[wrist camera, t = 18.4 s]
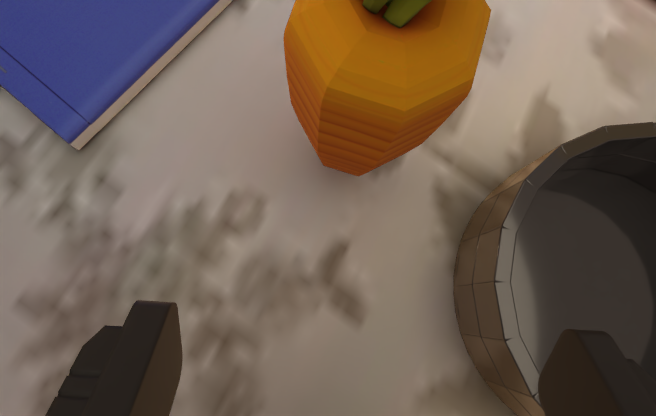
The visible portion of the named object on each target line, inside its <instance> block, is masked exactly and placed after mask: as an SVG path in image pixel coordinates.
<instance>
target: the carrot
mask: <svg viewBox="0 0 656 416" xmlns="http://www.w3.org/2000/svg"><path fill="white" fill-rule="evenodd" d="M490 13H491V9H490V8H489V6H488V5H487V3H486V2H485V0H296V1H295V3H294V6H293V9H292V12H291V14H290V17H289V20H288V23H287V26H286V28H285V33H284V49H285V60H286V71H287V79H288V85H289V92H290V98H291V104H292V106H293V108H294V110H295V113H296V115H297V117H298V120H299V122H300V123H301V125H302V127H303V129H304V131H305V133H306V135H307V136H308V138H309V140H310V142H311V144H312V146H313V147H314V149H315V151H316V153H317V155H318V157H319V158H320V160H321V162H322V164H323V165H324V166H327V167H330V168H333V169H336V170H340V171H343V172H346V173H349V174H352V175H356V176H360V175H363V174H365V173H367V172H369V171H371V170H373V169H375V168H377V167H379V166H381V165H383V164H385V163H387V162H389V161H391V160H393V159H395V158H397V157H399V156H401V155H403V154H405V153H407V152H408V151H410V150H412V149H413V148H415V147H417V146H419V145H420V144H422V143H423V142H424V141H425V140H426V139H427V138H428V137H429V136H430V135H431V134H432V133H433V132H434V131H435V130H436V129H437V128H438V127H439V126H440V125H441V124H442V123H443V122H444V121H445V120H446V119H447V118H448V117H449V116H450V115H451V114H452V112H453V111H454V110H455V109H456V108H457V107H458V106H459V105H460V104H461V103H462V101H463V100H464V99H465V98H466V97H467V95H468V94H469V92H470V90H471V88H472V84H473V80H474V76H475V72H476V68H477V65H478V61H479V57H480V53H481V49H482V45H483V41H484V38H485V34H486V30H487V26H488V22H489V18H490Z"/></svg>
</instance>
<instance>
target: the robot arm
mask: <svg viewBox="0 0 656 416" xmlns="http://www.w3.org/2000/svg"><path fill="white" fill-rule="evenodd" d="M181 369H182V344H181V335H180V325H179V316H178V308H177V304H176V303H174V302H159V301H143V300H137V301H136V302H135V303H134V304H133V306H132V308H131V310H130V312H129V314H128V316H127V318H126V320H125V323H124V325H123V327H122V326H106V325H105V326H104V327H103V328H102V329H101V330H100V331H99V332H98V333H96V334H95V335H94V336H93V337H92V338H91V339H90V340H89V341H88V342H87V343H86V344H84V345H83V347H82V349H81V350H80V352H79V354H78V356H77V358H76V360H75V362H74V363H73V365H72V367H71V369H70V373H69V376H66V378H65V380H64V382H63V384H62V386H61V388H60V389H59V391H58V396H57V397H55V399H54V401H53V402H52V404H51V406H50V408H49V410H48V412H47V414H46V415H45V416H169V414H170V410H171V407H172V404H173V400H174V397H175V394H176V390H177V387H178V384H179V380H180V375H181ZM538 394H539V400H540V403H541V406H542V408H543V411H544V413H545V416H656V380H655V379H654V378H653V377H652V376H650V375H649V374H648V373H647V372H646V371H645V370H644V369H643V368H642V367H641V366H639V365H638V364H637V363H636V362H635V361H634V360H633V359H626V358H625V356H624V355H623V353H622V352H621V350H620V349H619V347H618V346H617V344H616V342H615V341H614V339H613V338H612V337H611V336H610V335H609V334H608V333H606V332H604V331H592V330H577V329H566V330H564V331H563V332H562V333H561V335H560V337H559V339H558V341H557V342H556V344H555V346H554V348H553V350H552V352H551V354H550V356H549V358H548V360H547V362H546V364H545V366H544V368H543V370H542V372H541V374H540V377H539V381H538Z"/></svg>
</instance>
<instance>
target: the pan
mask: <svg viewBox="0 0 656 416" xmlns="http://www.w3.org/2000/svg"><path fill="white" fill-rule="evenodd" d="M454 302H455V311H456V316H457V320H458V324H459V329H460V333H461V335H462V338H463V341H464V343H465V346H466V349H467V351H468V353H469V355H470V357H471V359H472V361H473V363H474V365H475V366H476V368H477V370H478V372H479V373H480V374H481V376H482V377H483V379H484V380H485V382H486V383H487V385H488V386H489V387H490V388H491V389H492V391H493V392H494V393H495V394H496V395H497V396H498V397H499V398H500V400H501V401H502V402H503V403H504V404H506V405H507V406H508V407H509V408H510V409H511V410H512V411H514V412H515V414H516V415H518V416H545V413H544V411H543V408H542V406H541V403H540V400H539V394H538V381H539V377H540V374H541V372H542V370H543V368H544V366H545V364H546V362H547V360H548V358H549V356H550V354H551V352H552V350H553V348H554V346H555V344H556V342H557V341H558V339H559V337H560V335H561V333H562V332H563V331H564V330H566V329H577V330H592V331H604V332H606V333H608V334H609V335H610V336H611V337H612V338H613V339H614V341H615V342H616V344H617V346H618V347H619V349H620V350H621V352H622V353H623V355H624V356H625V358H626V359H633V360H634V361H635V362H636V363H637V364H638V365H639V366H641V367H642V368H643V369H644V370H645V371H646V372H647V373H648V374H649V375H650V376H652V377H653V378H654V379H655V380H656V123H653V122H647V123H634V124H622V125H610V126H604V127H600V128H598V129H596V130H593V131H591V132H589V133H587V134H584V135H582V136H580V137H577V138H575V139H573V140H571V141H568V142H566V143H564V144H562V145H560V146H558V147H556V148H555V149H553V150H551V151H550V152H548V153H547V154H545V155H543V156H542V157H540V158H538V159H537V160H535V161H534V162H532V163H530V164H528V165H527V166H525V167H524V168H522V169H520V170H519V171H517V172H515V173H514V174H512V175H511V176H509V177H508V178H507V179H506V180H505V181H504V182H503V183H502V184H500V185H499V186H498V187H497V188H496V189H495V190H494V191H492V192H491V193H490V194H489V195H488V196H487V197H486V199H485V200H484V201H483V202H482V203H481V204H480V206H479V207H478V208H477V210H476V211H475V213H474V215H473V216H472V218H471V220H470V221H469V223H468V225H467V227H466V230H465V232H464V234H463V237H462V239H461V242H460V246H459V249H458V253H457V257H456V263H455V270H454Z"/></svg>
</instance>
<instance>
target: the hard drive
mask: <svg viewBox="0 0 656 416" xmlns="http://www.w3.org/2000/svg"><path fill="white" fill-rule="evenodd" d="M232 1H233V0H0V85H1V86H2V87H3V88H5V89H6V90H7V91H8V92H9V93H10V94H11V95H13V96H14V97H15V98H16V99H17V100H18V101H20V102H21V103H22V104H23V105H24V106H25V107H27V108H28V109H29V110H30V111H31V112H32V113H33V114H35V115H36V116H37V117H38V118H39V119H40V120H41V121H43V122H44V123H45V124H46V125H47V126H48V127H50V128H51V129H52V130H53V131H54V132H55V133H56V134H58V135H59V136H60V137H61V138H62V139H64V140H65V141H66V142H67V143H68V144H70V145H71V146H73V147H74V148H75V149H77V150H80V149H81V148H82V147H83V146H84V145H85V144H86V143H87V142H88V141H89V140H90V139H91V138H92V137H93V136H94V135H95V134H96V133H97V132H98V131H100V130H101V129H102V128H103V127H104V126H105V125H106V124H107V123H108V122H109V121H110V120H111V119H112V118H113V117H114V116H115V115H116V114H117V113H118V112H119V111H120V110H121V109H122V108H123V107H124V106H125V105H126V104H128V103H129V102H130V101H131V100H132V99H133V98H134V97H135V96H136V95H137V94H138V93H139V92H140V91H141V90H142V89H143V88H144V87H145V86H146V85H147V84H148V83H149V82H150V81H151V80H152V79H153V78H154V77H155V76H156V75H157V74H158V73H159V72H160V71H161V70H162V69H163V68H164V67H165V66H166V65H167V64H168V63H169V62H170V61H171V60H172V59H173V58H174V57H176V56H177V55H178V54H179V53H180V52H181V51H182V50H183V49H184V48H185V47H186V46H187V45H188V44H189V43H190V42H191V41H192V40H193V39H194V38H195V37H196V36H197V35H198V34H199V33H200V32H201V31H202V30H203V29H204V28H205V27H206V26H207V25H208V24H209V23H210V22H211V21H212V20H213V19H214V18H215V17H216V16H217V15H218V14H220V13H221V12H222V11H223V10H224V9H225V8H226V7H227V6H228V5H229V4H230V3H231V2H232Z"/></svg>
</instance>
